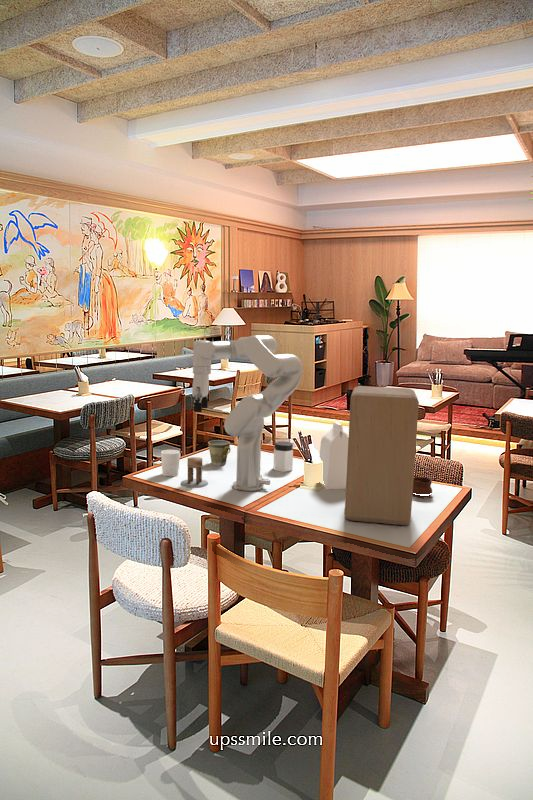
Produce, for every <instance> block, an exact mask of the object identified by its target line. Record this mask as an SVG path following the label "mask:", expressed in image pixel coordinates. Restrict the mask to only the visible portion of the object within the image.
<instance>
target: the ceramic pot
mask: <svg viewBox="0 0 533 800" xmlns="http://www.w3.org/2000/svg"><path fill="white" fill-rule="evenodd" d="M432 482H433V481H432V479H431V478H429V477H424V476H417V477H416V476H414V480H413V493H416V494H430V493H432V494H433V489H432V486H431V485H432ZM432 494H431V495H429V496H420V495H415V494H412V497H415V498H418V499H419V498H420V499H428V498H431V496H432ZM413 501H414V502H418V500H417V499H413ZM419 502H422V503H426V501H423V500H419Z"/></svg>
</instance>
